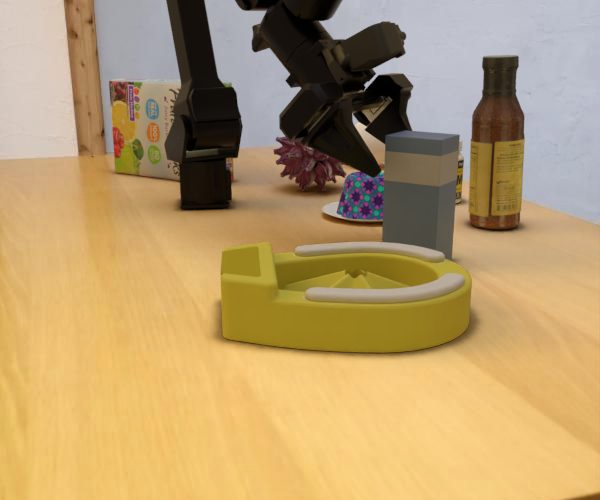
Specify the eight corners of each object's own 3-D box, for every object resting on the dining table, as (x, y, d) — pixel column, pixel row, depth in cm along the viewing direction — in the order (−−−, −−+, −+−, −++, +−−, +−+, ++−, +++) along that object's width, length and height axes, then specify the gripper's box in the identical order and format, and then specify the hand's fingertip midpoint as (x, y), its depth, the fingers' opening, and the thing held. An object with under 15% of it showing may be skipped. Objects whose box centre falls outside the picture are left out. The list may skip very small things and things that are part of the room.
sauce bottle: (523, 222, 98) (539, 54, 92) (514, 233, 93) (529, 56, 87) (471, 216, 101) (482, 53, 94) (459, 228, 96) (470, 55, 89)
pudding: (352, 230, 95) (353, 187, 93) (305, 210, 105) (305, 171, 103) (434, 219, 100) (436, 178, 98) (382, 201, 110) (383, 163, 108)
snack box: (236, 180, 124) (233, 81, 119) (214, 186, 120) (210, 83, 115) (136, 168, 135) (130, 76, 130) (112, 173, 131) (105, 78, 126)
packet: (380, 261, 82) (384, 135, 78) (400, 251, 86) (405, 130, 82) (434, 271, 79) (441, 139, 75) (452, 260, 83) (460, 134, 78)
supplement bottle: (460, 205, 107) (465, 142, 105) (425, 203, 108) (428, 141, 105) (461, 198, 112) (465, 137, 109) (427, 196, 113) (430, 136, 110)
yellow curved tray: (224, 287, 75) (223, 236, 73) (442, 282, 76) (445, 231, 74) (221, 357, 59) (219, 294, 57) (494, 349, 60) (499, 286, 59)
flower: (272, 194, 122) (343, 173, 125) (296, 207, 111) (373, 184, 114) (254, 119, 118) (328, 100, 121) (278, 125, 107) (358, 103, 110)
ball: (342, 163, 139) (343, 116, 136) (387, 162, 140) (388, 116, 137) (350, 171, 132) (350, 122, 129) (397, 170, 132) (399, 121, 130)
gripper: (304, -11, 71) (411, 123, 68) (400, -5, 85) (490, 105, 83) (237, 78, 77) (333, 203, 75) (336, 69, 92) (419, 173, 90)
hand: (399, 167), depth 81 cm, fingers open, 9 cm apart
